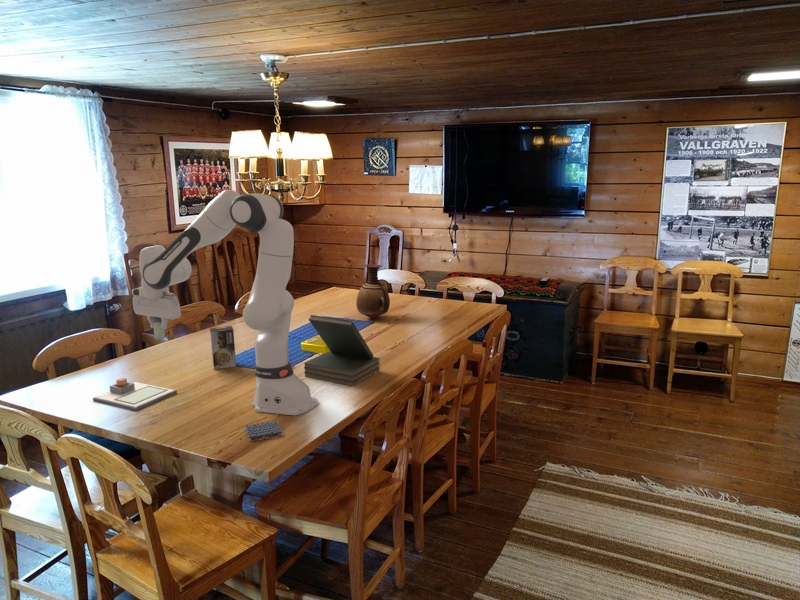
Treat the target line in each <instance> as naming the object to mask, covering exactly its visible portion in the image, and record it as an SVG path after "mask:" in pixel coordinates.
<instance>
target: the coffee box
mask: <svg viewBox="0 0 800 600" xmlns="http://www.w3.org/2000/svg"><path fill="white" fill-rule="evenodd" d="M209 331H210V335H209V336H210V344H211V357H212V359H211V360H212V367H213V370H219V369H227V368H228V369H229V368H234V367H235V368H236V367H237V359H236V357H237V356H236V348H235V335H234V333H235V331H234V328H233V326H232V325H229V326H226V325H225V326H218V327H210V328H209Z"/></svg>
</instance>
